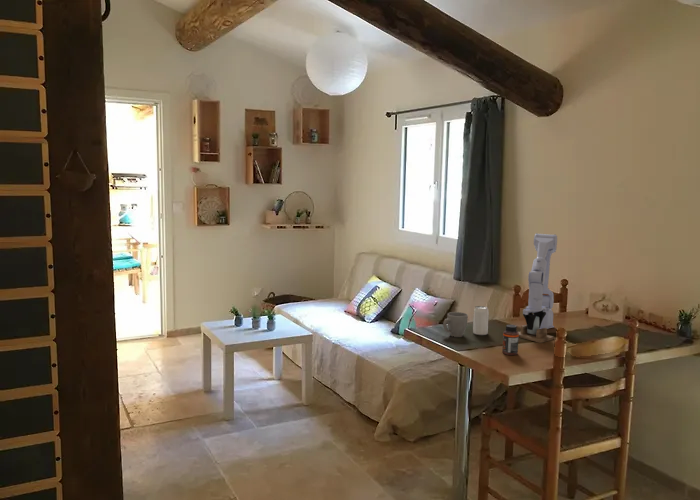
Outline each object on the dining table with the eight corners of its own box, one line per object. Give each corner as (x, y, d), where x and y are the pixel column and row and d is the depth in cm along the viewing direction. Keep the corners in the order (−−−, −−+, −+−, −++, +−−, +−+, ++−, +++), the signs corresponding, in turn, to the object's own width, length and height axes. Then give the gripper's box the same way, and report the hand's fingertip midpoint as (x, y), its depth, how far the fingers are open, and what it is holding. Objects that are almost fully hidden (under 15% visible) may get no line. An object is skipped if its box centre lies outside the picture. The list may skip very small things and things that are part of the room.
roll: (531, 331, 268) (532, 315, 268) (541, 333, 264) (541, 317, 264) (524, 332, 265) (525, 316, 265) (534, 334, 261) (534, 318, 261)
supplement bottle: (500, 351, 243) (501, 323, 241) (514, 351, 243) (516, 323, 242) (505, 355, 237) (506, 327, 235) (519, 355, 237) (521, 327, 236)
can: (487, 335, 266) (489, 309, 265) (472, 334, 268) (474, 308, 266) (487, 332, 273) (488, 306, 271) (472, 331, 274) (474, 305, 272)
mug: (457, 332, 272) (458, 311, 271) (471, 336, 264) (472, 315, 263) (436, 335, 266) (437, 313, 265) (449, 340, 258) (450, 317, 257)
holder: (526, 332, 273) (526, 322, 273) (553, 339, 263) (554, 328, 262) (512, 335, 267) (513, 325, 267) (540, 342, 256) (541, 332, 256)
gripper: (537, 294, 270) (535, 324, 272) (517, 298, 261) (516, 329, 263) (551, 297, 265) (549, 327, 267) (531, 301, 256) (529, 332, 258)
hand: (533, 328), depth 264 cm, fingers closed on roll, 5 cm apart
